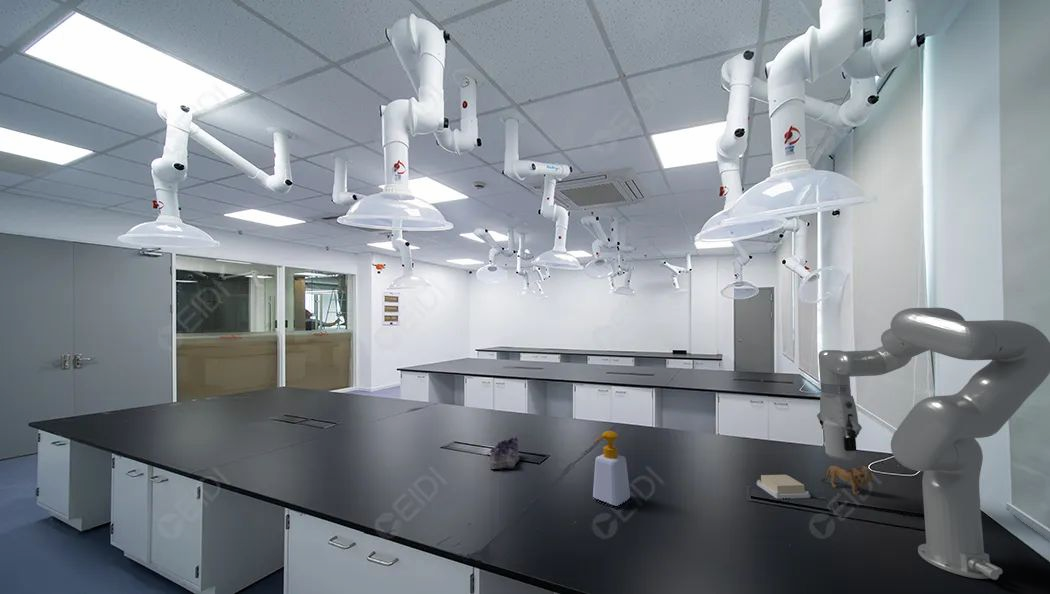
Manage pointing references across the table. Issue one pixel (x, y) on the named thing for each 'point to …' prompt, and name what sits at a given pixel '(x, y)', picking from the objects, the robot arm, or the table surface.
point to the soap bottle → (611, 474)
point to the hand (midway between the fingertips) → (839, 446)
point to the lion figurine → (850, 476)
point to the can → (836, 441)
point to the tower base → (782, 486)
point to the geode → (505, 454)
